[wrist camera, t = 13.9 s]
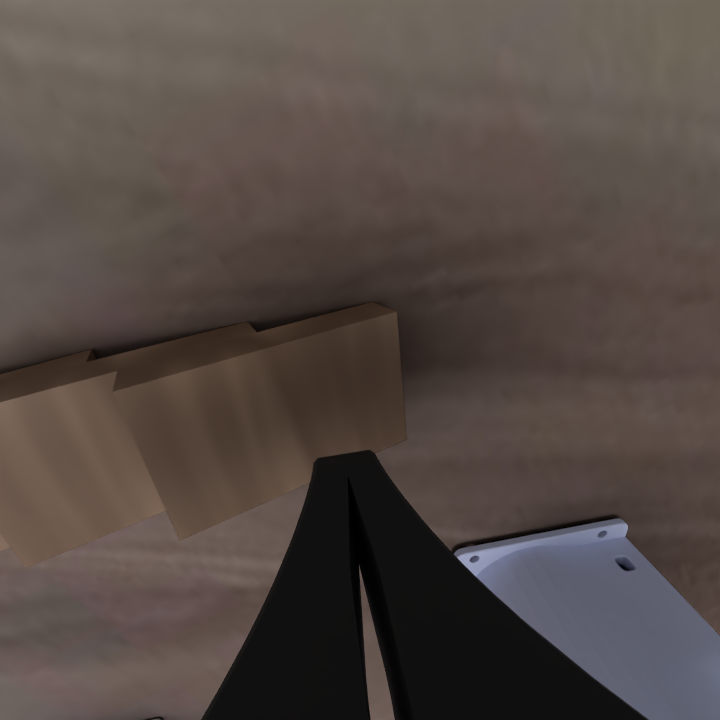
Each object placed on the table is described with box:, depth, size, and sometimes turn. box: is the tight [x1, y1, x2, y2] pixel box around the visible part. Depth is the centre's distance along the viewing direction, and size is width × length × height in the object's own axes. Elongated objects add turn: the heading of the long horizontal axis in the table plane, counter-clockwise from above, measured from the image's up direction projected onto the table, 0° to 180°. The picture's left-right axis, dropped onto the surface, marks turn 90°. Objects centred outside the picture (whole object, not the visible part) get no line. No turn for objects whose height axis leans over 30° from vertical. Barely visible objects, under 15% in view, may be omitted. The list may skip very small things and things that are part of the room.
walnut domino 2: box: [113, 302, 407, 541], centre depth 12 cm, size 2×5×8 cm
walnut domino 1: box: [0, 322, 256, 568], centre depth 12 cm, size 2×5×8 cm
